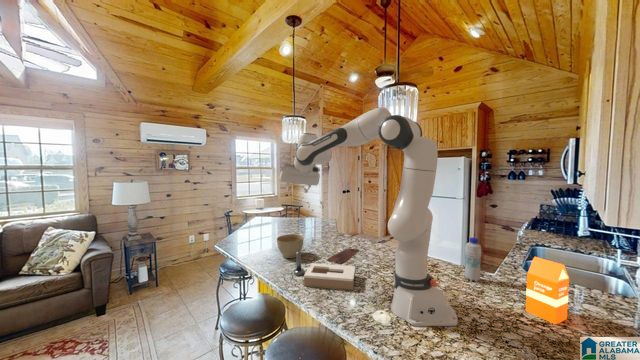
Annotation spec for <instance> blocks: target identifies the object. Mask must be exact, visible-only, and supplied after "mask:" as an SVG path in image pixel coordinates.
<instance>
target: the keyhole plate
mask: <svg viewBox="0 0 640 360" xmlns="http://www.w3.org/2000/svg"><path fill="white" fill-rule="evenodd" d="M355 279H356V266H355V265H347V264H346V265H343V264H329V263H314V262H311V263H310V264H309V267H308V268H307V270H306V271H305V272H304V274H303V282H304V283H303V284H304V285H303V286H304V287H311V288H313V287H314V288H321V289H322V288H325V289H335V290H345V291H346V290H347V291H354V287H355V285H354V284H355V283H354V281H355Z"/></svg>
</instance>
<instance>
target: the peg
mask: <svg viewBox="0 0 640 360" xmlns="http://www.w3.org/2000/svg"><path fill="white" fill-rule="evenodd" d="M295 258H296V259H295V260H296V268H295V269H294V270H293V275H294V276H297V277H300V276H301V277H302V276H304V275H305V269H304V268H302V251H297V252H296V257H295Z"/></svg>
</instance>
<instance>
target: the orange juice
mask: <svg viewBox="0 0 640 360" xmlns="http://www.w3.org/2000/svg"><path fill="white" fill-rule="evenodd" d="M526 276H527V277H526V289H525V291H526V292H525V294H526V295H525V296H526V297H525V298H526V299H525V312H528V313H529V314H531V315H533V316H536V317H538V318H540V319H542V320H545V321H547V322H548V323H550V324H553V325H557V324H560V323H562V322H564V321H565V320H567V319H568V305H569V304H568V303H569V287H570V277H569V275H568V272H567V270H566V267H565V264H562V263H559V262H555V261H552V260H548V259H545V258H541V257H538V256H534V257H533V258H532V262H531V263H530V266H529V268H528V271H527V274H526Z"/></svg>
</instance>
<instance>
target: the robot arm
mask: <svg viewBox="0 0 640 360" xmlns="http://www.w3.org/2000/svg"><path fill="white" fill-rule="evenodd" d="M378 138H380V140H381V141H382V142H383V143H384V144H385V145H387V146H389V147H392V148H394V149H396V150H399V151H402V152H403V155H404V157H403V159H404V160H403V165H402V173H401V179H400V186H399V191H398V195H397V197H396V200H395V202H394V203H395V204H394V207H393V209H392V210H393V211H392V212H391V213H392V214H391V215H390V218H389V219H388V222H387V231H388V233H389V235H390V236H391V237H392V238H393V239H395V240H397V241H398V242H397V246H396V248H395V270H394V273H393V286H394V289H393V298H392V301H391V304H390V310H391V312H392V313H393V314H395V316H397V317H399V318H400V319H402V320H404V321H406V322H408V324H410V325H411V326H414V327H438V326H439V327H443V326H444V327H449V326H450V327H451V326H452V327H455V326H457V325H458V315H457V312H456V311H455V309H454V308H453V306H451V305H450V302H449V299H448V297H447V295H446V294H445V293H444V292H443V291H442V290H441V289H439V288H438V287H437V285H438V284H437V281H436V280H435V279H434V278H433V276H432V275H431V273H428V258H429V257H428V254H429V247H430V241H431V235H432V233H431V232H432V227H433V226H432V225H433V220H434V219H433V217H434V216H433V213H432V211H431V209H430V208H428V207H429V204H430V202H431V199H432V196H433V193H434V188H435V183H436V182H435V181H436V176H437V168H438V157H439V156H438V155H439V153H438V144H437V143H436V141H435V140H434V139H432V138H430V137H426V136H423V129H422V127H421V125H420V124H419V123H418V122H416V121H415V120H412V119H411V118H409V117H406V116H402V115H400V114H394V115H392V112H390V110H389V109H387V108H386V107H383V106H379V107H376V108H373V109H371V110H369V111H366V112H364V113H362V114H361V115H359V116H357V117H355V118H354V119H353V120H351V121H349V122H347V123H345V124H343V125H341V126H339V127H338V128H336V129H333V130H331V131H329V132H327V133H325V134H324V135H323V134H322V136H320V137H318V135H317V134H316V133H309V132H304V133H301V135H300V136H299V139H298V142H297V146H296V150H295V156H294V161H293V163H288V162H285V163H283V164H281V167H280V173H279V177H278V179H279V181H280V182H281V183H284V184H285V186H286V191H287V192H290V191H291V187H290V186H289V185H290V184H297V185H306V187H305V188H304V189H303V193H305V194H307V193H308V191H309V190H310V189H311V187H312V186H316V187H317V186H318V185H319V183H320V175H321V174H320V171H321V169H320V167H318V166H321V165H326V164H329V162H330V161H331V159H332V149H334V148H339V147H359V146H362V145H365V144H369V143H371V142H372V141H374V140H375V139H378Z"/></svg>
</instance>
